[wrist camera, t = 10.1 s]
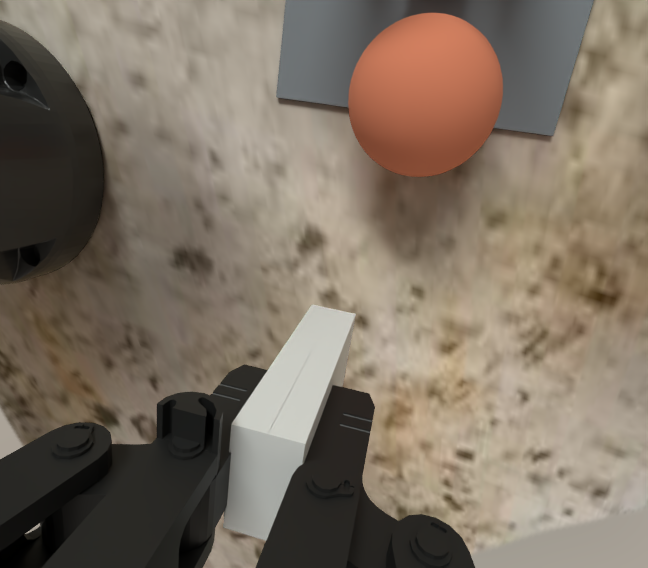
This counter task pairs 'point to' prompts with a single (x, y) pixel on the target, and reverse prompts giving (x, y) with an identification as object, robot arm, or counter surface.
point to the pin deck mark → (466, 3)
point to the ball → (425, 94)
